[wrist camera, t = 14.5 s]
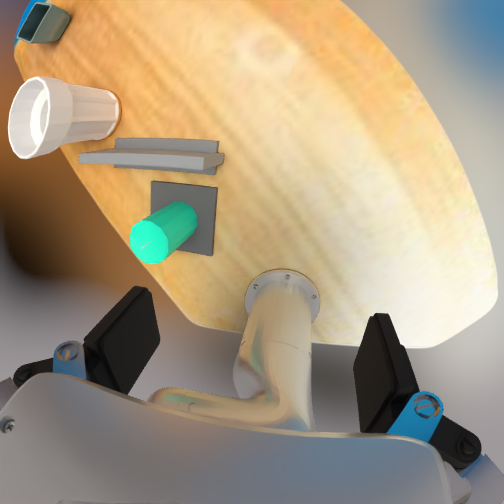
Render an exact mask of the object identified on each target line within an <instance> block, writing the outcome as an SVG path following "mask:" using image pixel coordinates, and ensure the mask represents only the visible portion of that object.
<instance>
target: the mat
mask: <svg viewBox="0 0 504 504" xmlns="http://www.w3.org/2000/svg"><path fill="white" fill-rule="evenodd" d="M217 191H218V188H217V187H209V186H200V185H191V184H182V183H172V182H162V181H151V215H152V214H153V213H155V212H157V211H159V210H161V209H162V208H164V207H166V206H168V205H170V204H171V203H173V202H185V203H186V204H188V205H189V206H191V207H192V208H193V210H194V211H195V213H196V215H197V227H196V229H195V231H194V233H193V234H192V235H191V236H190V237H188V238H187V239H186V240H185V241H184V242H183V243H182V244H181V245H180V246H179V247H178V248H177V249H176V250H180V251H186V252H191V253H196V254H202V255H207V256H212V255H213V244H214V230H215V216H216V203H217Z"/></svg>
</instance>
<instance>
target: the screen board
mask: <svg viewBox="0 0 504 504" xmlns="http://www.w3.org/2000/svg"><path fill="white" fill-rule="evenodd" d="M218 146H219V141H209V140H193V139H171V138H117V139H115V148H113V149H106V150H99V151H93V152H87V153H81V154H79V164H114V168H135V169H151V170H165V171H178V172H189V173H199V174H209V175H215V174H216V166H217V165H220V164H223V162H224V153H218Z"/></svg>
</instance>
